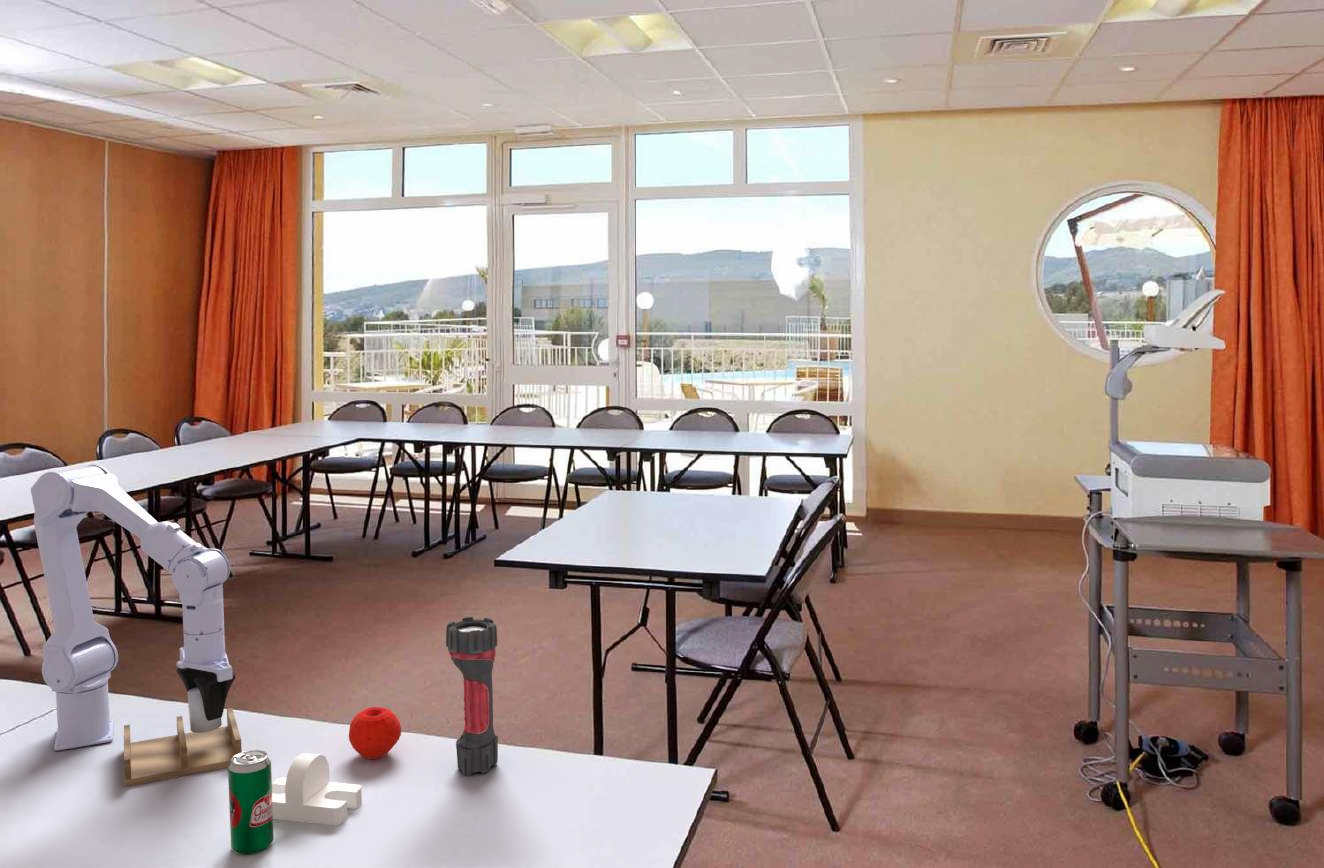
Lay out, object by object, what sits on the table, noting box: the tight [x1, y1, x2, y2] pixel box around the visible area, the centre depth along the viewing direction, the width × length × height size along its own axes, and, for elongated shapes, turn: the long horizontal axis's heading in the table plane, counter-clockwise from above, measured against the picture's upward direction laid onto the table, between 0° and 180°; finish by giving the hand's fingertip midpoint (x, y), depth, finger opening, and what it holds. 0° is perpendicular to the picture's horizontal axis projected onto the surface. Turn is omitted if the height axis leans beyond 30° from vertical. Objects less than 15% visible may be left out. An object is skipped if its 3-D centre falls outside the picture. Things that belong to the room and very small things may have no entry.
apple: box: [348, 706, 402, 760], centre depth 151 cm, size 8×8×7 cm
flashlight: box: [445, 616, 499, 777], centre depth 145 cm, size 8×8×23 cm
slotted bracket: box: [272, 752, 363, 826], centre depth 134 cm, size 13×7×8 cm, turn 80°
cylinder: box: [187, 687, 223, 733], centre depth 150 cm, size 4×4×6 cm
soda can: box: [227, 749, 275, 856], centre depth 124 cm, size 5×5×12 cm
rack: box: [123, 707, 243, 787], centre depth 150 cm, size 14×16×4 cm
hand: (207, 714), depth 151 cm, fingers closed on cylinder, 4 cm apart
